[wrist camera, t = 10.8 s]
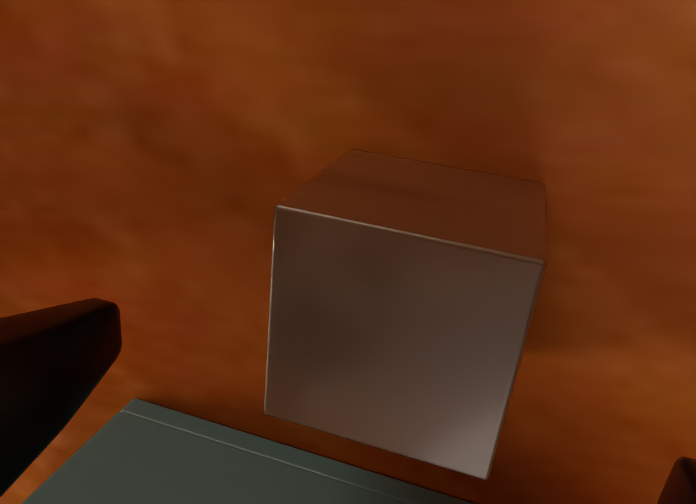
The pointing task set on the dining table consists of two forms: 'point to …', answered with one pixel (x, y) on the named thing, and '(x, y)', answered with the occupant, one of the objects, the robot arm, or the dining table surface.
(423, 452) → the block
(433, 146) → the dining table surface
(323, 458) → the cabinet
